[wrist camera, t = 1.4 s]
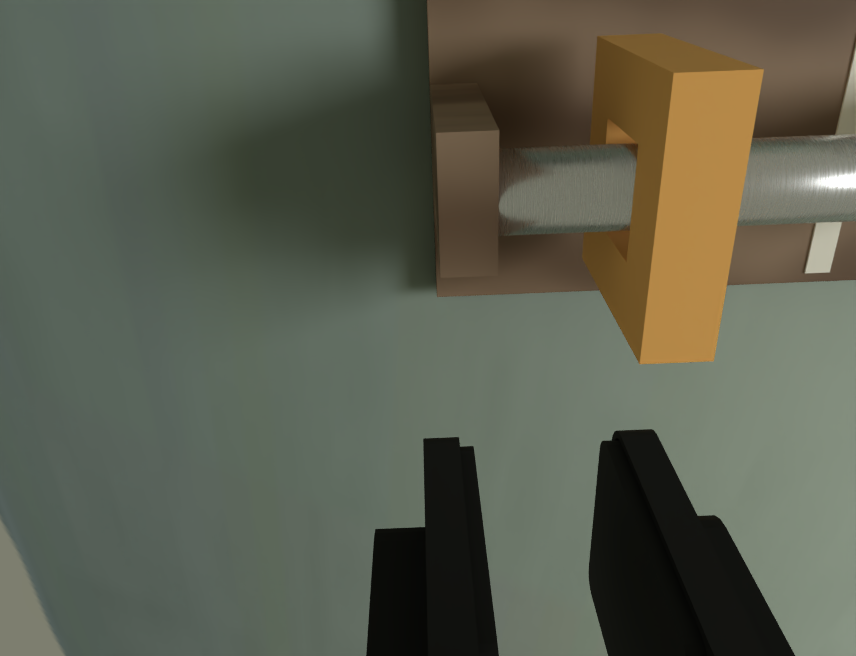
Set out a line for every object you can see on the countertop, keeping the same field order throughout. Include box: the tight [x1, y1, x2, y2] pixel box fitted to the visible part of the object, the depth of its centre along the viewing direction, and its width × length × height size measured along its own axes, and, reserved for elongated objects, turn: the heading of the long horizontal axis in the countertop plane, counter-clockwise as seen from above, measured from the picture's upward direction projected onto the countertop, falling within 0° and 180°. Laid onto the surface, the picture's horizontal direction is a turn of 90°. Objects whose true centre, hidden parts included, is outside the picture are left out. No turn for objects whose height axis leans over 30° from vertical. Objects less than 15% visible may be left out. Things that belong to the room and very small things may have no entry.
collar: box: [582, 33, 764, 364], centre depth 25 cm, size 9×2×9 cm, turn 2°
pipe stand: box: [427, 0, 856, 297], centre depth 29 cm, size 15×25×11 cm, turn 92°
